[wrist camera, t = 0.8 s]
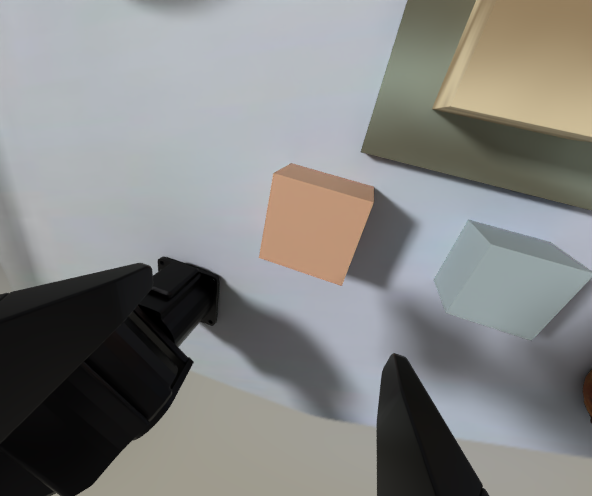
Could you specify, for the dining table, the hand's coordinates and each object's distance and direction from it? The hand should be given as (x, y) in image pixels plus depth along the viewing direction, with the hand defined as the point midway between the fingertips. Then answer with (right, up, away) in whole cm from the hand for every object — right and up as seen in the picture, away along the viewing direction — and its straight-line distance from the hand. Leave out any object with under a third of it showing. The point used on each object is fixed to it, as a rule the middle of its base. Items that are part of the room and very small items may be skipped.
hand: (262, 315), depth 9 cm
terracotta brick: (+3, +5, +11) cm, 12 cm away
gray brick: (+14, +1, +9) cm, 17 cm away
